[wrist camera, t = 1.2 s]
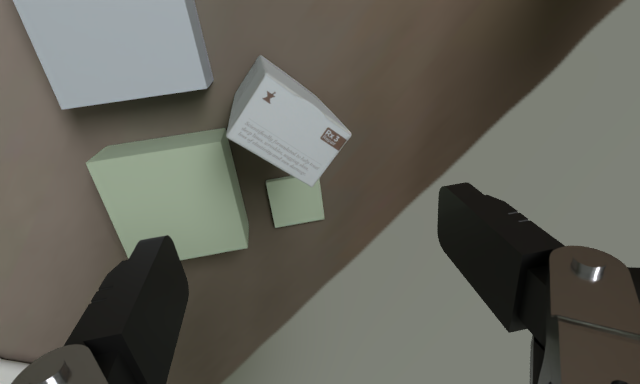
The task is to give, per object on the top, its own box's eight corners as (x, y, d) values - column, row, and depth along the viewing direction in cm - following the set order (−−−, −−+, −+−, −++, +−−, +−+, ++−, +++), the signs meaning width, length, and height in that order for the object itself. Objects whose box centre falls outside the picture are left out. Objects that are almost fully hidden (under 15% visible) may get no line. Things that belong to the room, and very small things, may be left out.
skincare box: (232, 97, 30) (216, 140, 19) (261, 50, 28) (261, 68, 18) (293, 136, 32) (309, 195, 21) (322, 95, 31) (355, 134, 20)
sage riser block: (225, 127, 31) (220, 141, 27) (249, 225, 35) (247, 247, 32) (106, 146, 30) (85, 162, 26) (146, 243, 34) (132, 268, 31)
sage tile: (317, 171, 34) (318, 173, 33) (323, 216, 36) (324, 219, 35) (265, 180, 33) (265, 182, 33) (274, 224, 36) (275, 227, 35)
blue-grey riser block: (177, -69, 24) (163, -85, 21) (213, 80, 29) (207, 88, 25) (25, -53, 24) (-17, -66, 20) (87, 98, 28) (61, 109, 24)
